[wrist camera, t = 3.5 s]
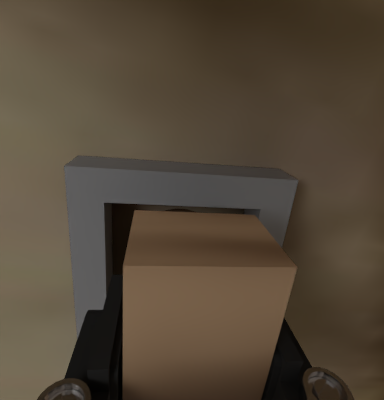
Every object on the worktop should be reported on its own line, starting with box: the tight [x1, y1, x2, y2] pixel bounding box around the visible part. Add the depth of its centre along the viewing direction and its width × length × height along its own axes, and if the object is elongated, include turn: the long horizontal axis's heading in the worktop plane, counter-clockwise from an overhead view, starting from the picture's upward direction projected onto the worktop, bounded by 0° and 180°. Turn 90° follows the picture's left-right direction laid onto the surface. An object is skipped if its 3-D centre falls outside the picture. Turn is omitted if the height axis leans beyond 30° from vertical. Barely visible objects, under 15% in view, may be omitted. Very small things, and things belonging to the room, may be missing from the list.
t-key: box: [123, 209, 298, 400], centre depth 11 cm, size 9×5×8 cm, turn 175°
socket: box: [64, 156, 298, 339], centre depth 14 cm, size 10×10×2 cm
